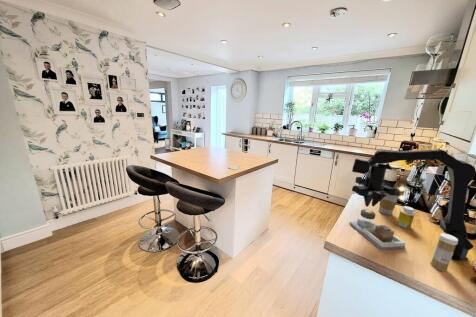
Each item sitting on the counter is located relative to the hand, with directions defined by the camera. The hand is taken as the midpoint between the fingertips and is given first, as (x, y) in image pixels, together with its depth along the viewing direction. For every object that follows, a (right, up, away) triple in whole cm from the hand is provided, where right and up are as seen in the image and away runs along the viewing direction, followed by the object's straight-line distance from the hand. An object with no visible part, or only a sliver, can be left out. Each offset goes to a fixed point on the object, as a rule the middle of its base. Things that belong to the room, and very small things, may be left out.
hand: (369, 206), depth 94 cm
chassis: (0, -13, -3) cm, 13 cm away
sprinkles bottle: (+12, -18, -21) cm, 30 cm away
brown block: (+1, -13, -7) cm, 15 cm away
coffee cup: (+22, -9, +19) cm, 31 cm away
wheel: (0, -5, +1) cm, 5 cm away
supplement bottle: (+22, -12, +6) cm, 26 cm away
